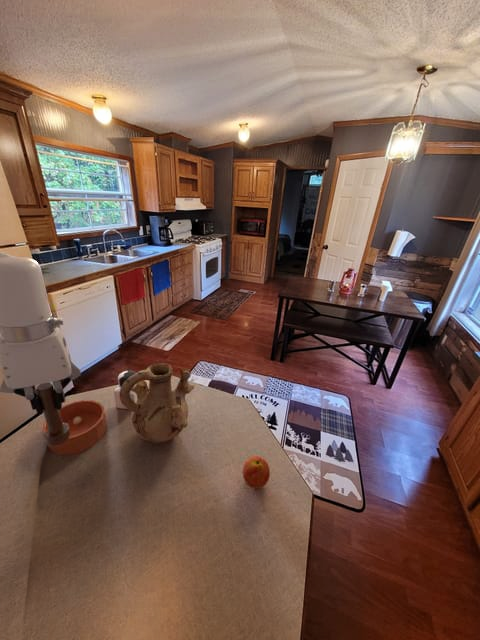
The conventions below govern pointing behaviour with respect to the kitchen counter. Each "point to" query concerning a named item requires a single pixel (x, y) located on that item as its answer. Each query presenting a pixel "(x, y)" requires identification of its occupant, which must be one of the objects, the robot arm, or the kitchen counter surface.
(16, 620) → the kitchen counter surface
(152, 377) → the ceramic vessel
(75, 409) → the bowl
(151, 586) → the kitchen counter surface
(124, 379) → the medicine bottle
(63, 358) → the robot arm
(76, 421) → the dumpling
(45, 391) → the pestle
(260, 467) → the fruit
